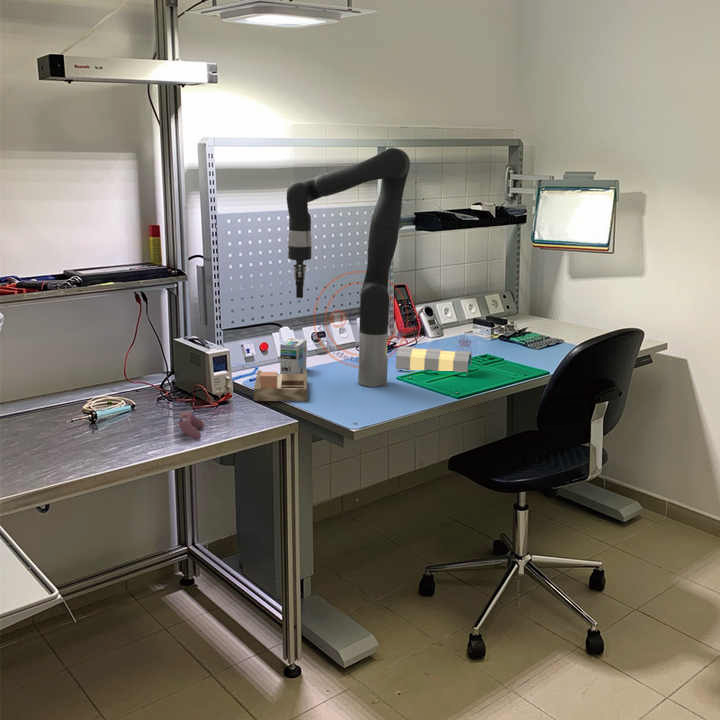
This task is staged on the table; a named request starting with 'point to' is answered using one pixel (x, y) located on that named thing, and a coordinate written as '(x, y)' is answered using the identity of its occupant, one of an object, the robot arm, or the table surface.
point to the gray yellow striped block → (434, 358)
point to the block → (268, 380)
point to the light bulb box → (293, 356)
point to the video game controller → (190, 424)
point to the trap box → (283, 388)
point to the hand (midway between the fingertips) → (299, 297)
